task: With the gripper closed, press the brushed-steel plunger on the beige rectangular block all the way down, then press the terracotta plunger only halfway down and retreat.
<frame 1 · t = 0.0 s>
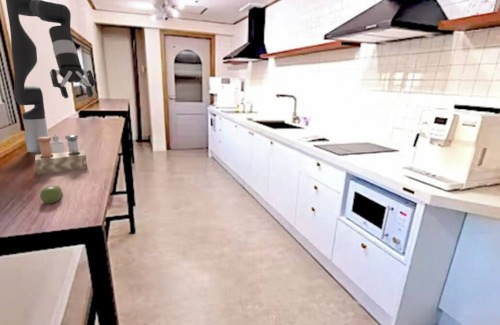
hand: (78, 97, 109), 31 cm above the table, tool tilted 20°, fingers open, 8 cm apart
terracotta plunger: (45, 149, 121), point 9 cm above the table, slide at 0.0 cm
eye dropper bottle: (58, 157, 142), on the table
steel plunger: (73, 147, 126), point 9 cm above the table, slide at 0.0 cm
beige rectangular block: (63, 168, 126), on the table
green rounded lump: (53, 200, 95), on the table
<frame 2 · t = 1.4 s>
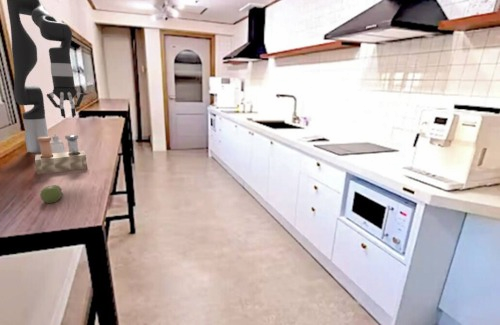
hand: (68, 117, 122), 22 cm above the table, tool pointing down, fingers closed
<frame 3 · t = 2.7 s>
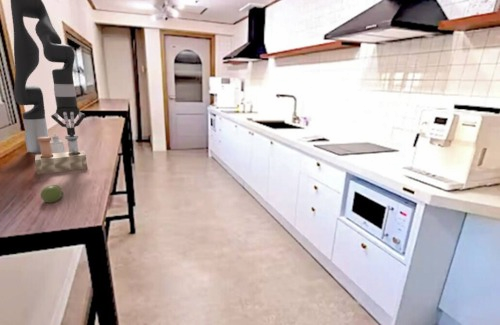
hand: (71, 136, 125), 14 cm above the table, tool pointing down, fingers closed
steel plunger: (73, 147, 126), point 9 cm above the table, slide at 0.1 cm, touching gripper
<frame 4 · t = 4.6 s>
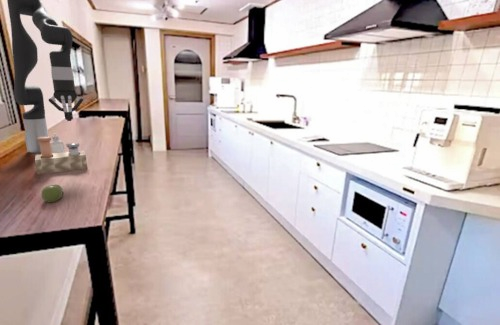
hand: (69, 120, 123), 21 cm above the table, tool pointing down, fingers closed
steel plunger: (74, 155, 127), point 5 cm above the table, slide at 3.6 cm
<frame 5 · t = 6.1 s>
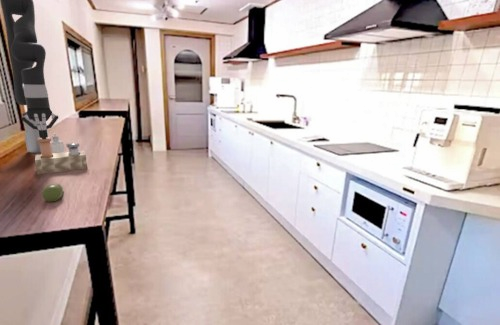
hand: (44, 138, 119), 14 cm above the table, tool pointing down, fingers closed
terracotta plunger: (46, 150, 121), point 9 cm above the table, slide at 0.4 cm, touching gripper
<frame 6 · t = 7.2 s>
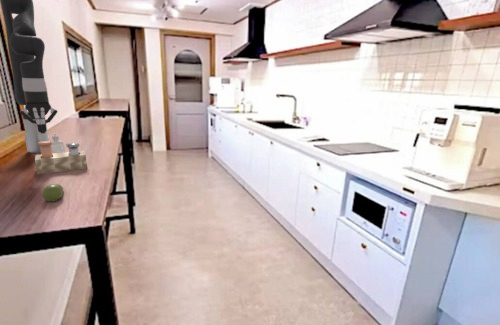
hand: (42, 133, 119), 16 cm above the table, tool pointing down, fingers closed
terracotta plunger: (46, 153, 121), point 7 cm above the table, slide at 1.9 cm
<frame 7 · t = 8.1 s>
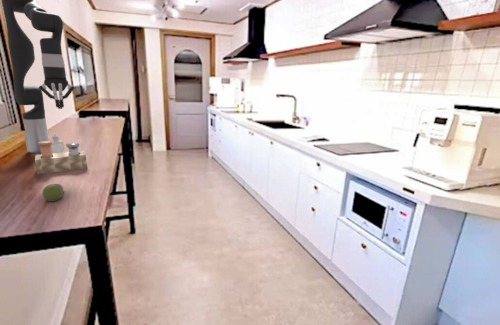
hand: (60, 108, 123), 25 cm above the table, tool pointing down, fingers closed
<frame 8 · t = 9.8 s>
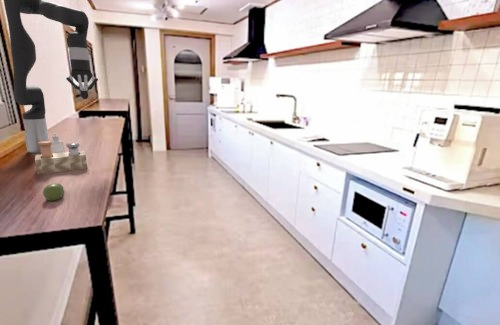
hand: (84, 99, 131), 29 cm above the table, tool pointing down, fingers closed
at the end: steel plunger slide at 3.6 cm; terracotta plunger slide at 1.9 cm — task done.
